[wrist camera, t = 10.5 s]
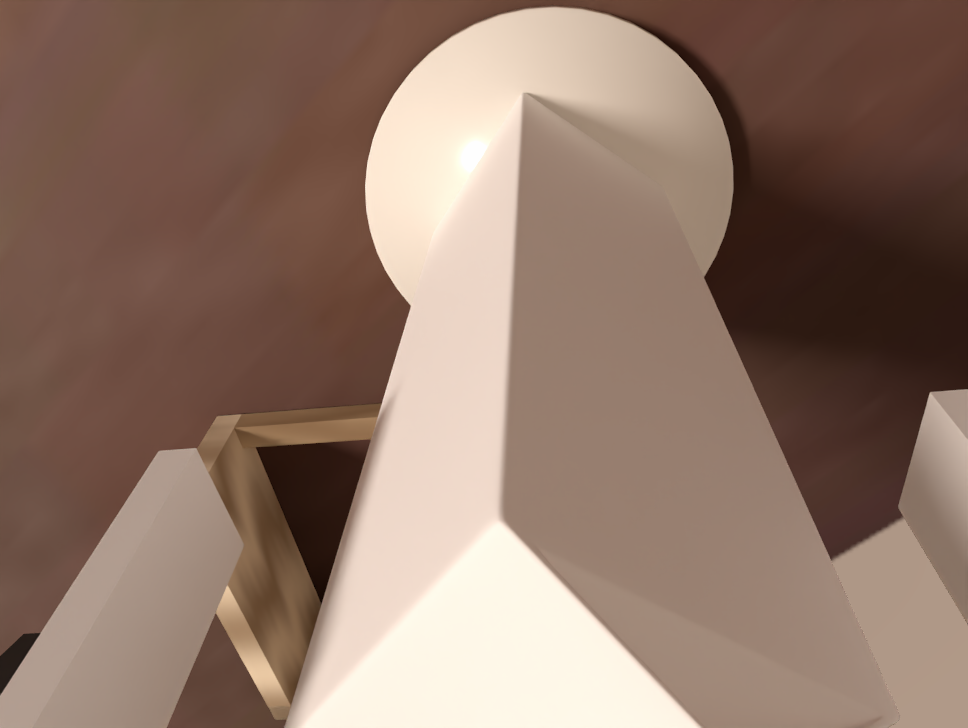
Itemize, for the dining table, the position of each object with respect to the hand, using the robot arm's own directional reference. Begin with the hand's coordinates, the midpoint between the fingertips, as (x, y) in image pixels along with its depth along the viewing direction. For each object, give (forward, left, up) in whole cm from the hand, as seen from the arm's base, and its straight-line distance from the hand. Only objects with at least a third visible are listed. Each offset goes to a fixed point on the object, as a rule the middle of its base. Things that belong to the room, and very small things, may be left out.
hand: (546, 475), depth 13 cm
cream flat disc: (0, 0, -15) cm, 15 cm away
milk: (0, 0, -14) cm, 14 cm away
